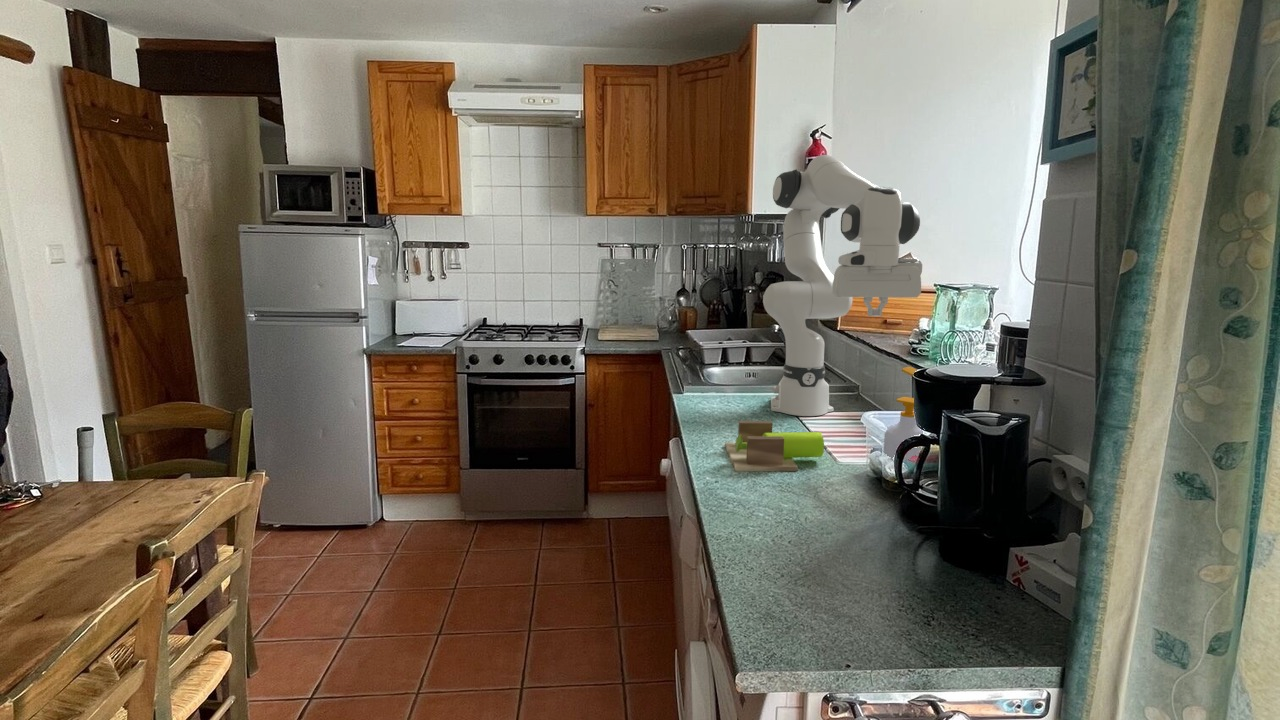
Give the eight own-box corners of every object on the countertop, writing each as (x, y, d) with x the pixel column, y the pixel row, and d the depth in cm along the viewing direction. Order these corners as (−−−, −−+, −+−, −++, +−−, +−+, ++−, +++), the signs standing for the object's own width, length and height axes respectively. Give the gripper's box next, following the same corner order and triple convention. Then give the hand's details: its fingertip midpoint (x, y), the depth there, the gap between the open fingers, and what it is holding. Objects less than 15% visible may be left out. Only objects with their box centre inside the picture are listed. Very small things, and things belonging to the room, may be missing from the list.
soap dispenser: (827, 447, 153) (740, 449, 152) (819, 461, 159) (735, 463, 157) (821, 424, 157) (736, 426, 155) (814, 439, 162) (731, 441, 161)
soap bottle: (893, 469, 153) (901, 362, 149) (933, 479, 147) (942, 368, 142) (874, 478, 147) (882, 368, 142) (915, 489, 141) (925, 374, 136)
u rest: (724, 446, 169) (725, 419, 168) (780, 446, 169) (781, 419, 168) (735, 470, 151) (736, 441, 150) (797, 471, 152) (799, 441, 150)
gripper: (917, 257, 161) (913, 314, 164) (832, 257, 162) (828, 314, 164) (928, 258, 155) (923, 318, 158) (839, 258, 155) (835, 317, 158)
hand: (874, 316), depth 161 cm, fingers closed
